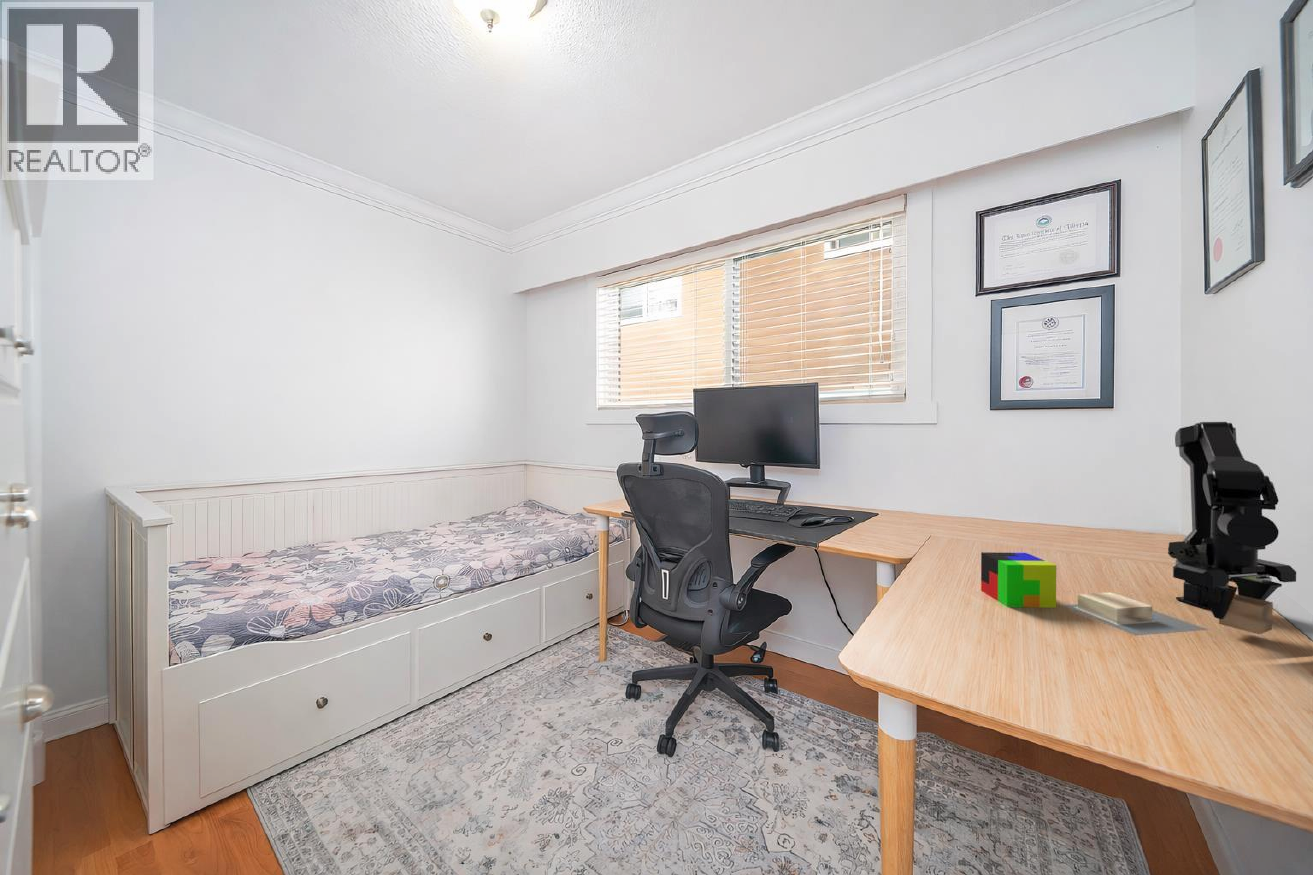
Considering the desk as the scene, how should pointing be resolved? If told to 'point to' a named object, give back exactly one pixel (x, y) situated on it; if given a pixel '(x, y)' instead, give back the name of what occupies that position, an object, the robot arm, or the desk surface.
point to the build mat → (1146, 623)
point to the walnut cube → (1249, 614)
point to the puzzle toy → (1018, 579)
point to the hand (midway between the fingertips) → (1232, 617)
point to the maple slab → (1115, 607)
